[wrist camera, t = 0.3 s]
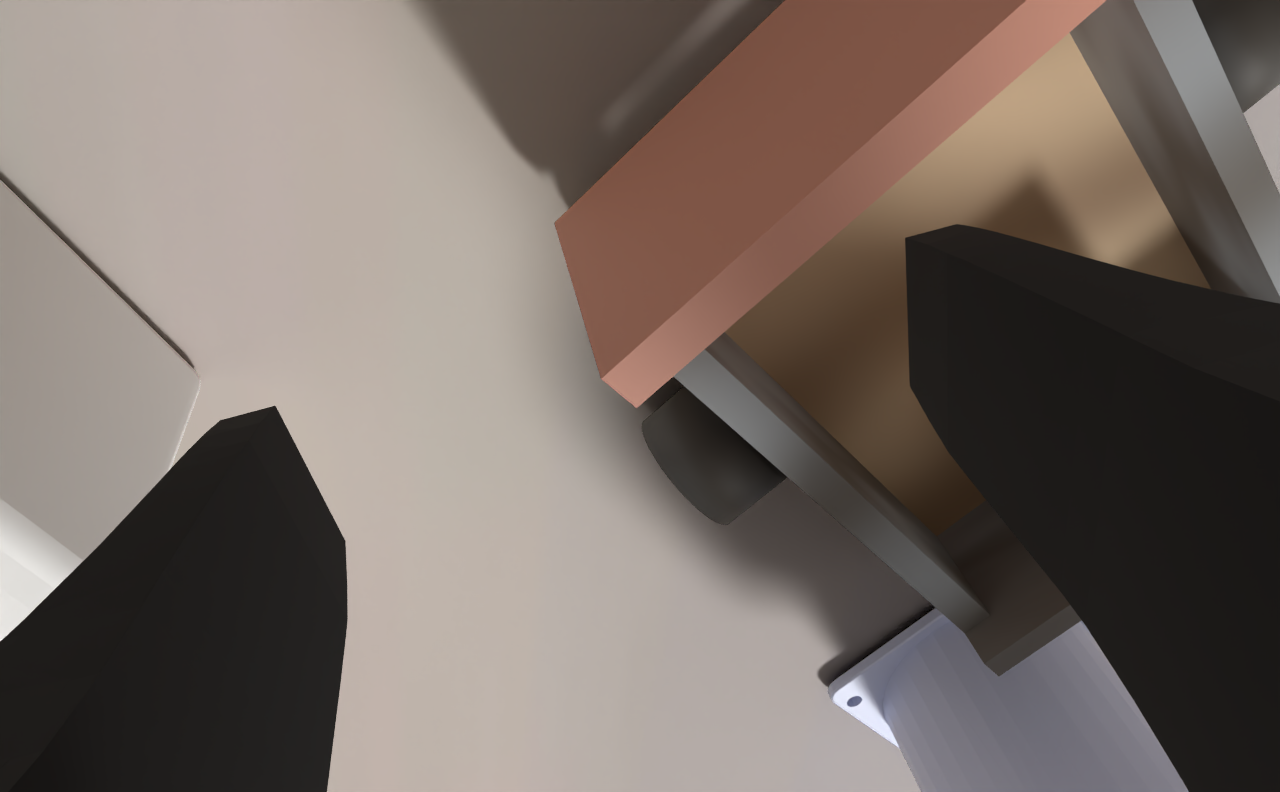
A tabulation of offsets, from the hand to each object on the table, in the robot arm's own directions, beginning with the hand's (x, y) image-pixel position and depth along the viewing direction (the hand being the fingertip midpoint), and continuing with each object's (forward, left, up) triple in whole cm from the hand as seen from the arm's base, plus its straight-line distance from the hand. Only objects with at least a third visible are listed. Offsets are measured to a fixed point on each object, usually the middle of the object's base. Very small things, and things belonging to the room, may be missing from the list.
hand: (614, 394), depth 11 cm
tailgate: (-2, -5, -9) cm, 10 cm away
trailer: (-10, -5, -10) cm, 15 cm away
